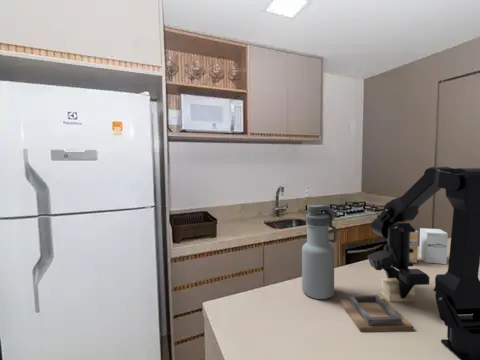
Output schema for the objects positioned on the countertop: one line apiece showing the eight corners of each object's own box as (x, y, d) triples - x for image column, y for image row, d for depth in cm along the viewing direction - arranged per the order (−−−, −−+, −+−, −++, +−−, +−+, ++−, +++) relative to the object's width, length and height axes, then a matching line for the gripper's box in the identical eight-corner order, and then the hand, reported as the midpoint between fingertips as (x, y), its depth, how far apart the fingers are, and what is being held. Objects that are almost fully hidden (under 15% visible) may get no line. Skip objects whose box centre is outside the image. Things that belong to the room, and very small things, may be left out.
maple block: (405, 293, 81) (405, 277, 81) (415, 300, 77) (415, 284, 76) (381, 293, 81) (381, 278, 81) (389, 301, 77) (389, 285, 76)
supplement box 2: (425, 263, 104) (426, 232, 103) (418, 256, 111) (419, 227, 111) (447, 264, 102) (448, 233, 101) (439, 258, 109) (439, 228, 108)
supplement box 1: (401, 265, 102) (402, 232, 102) (391, 261, 107) (392, 229, 106) (418, 263, 105) (418, 231, 104) (407, 258, 109) (408, 228, 108)
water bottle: (321, 282, 90) (320, 202, 88) (342, 295, 81) (342, 206, 79) (296, 288, 86) (295, 204, 84) (315, 303, 77) (315, 209, 75)
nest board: (413, 330, 64) (413, 320, 63) (360, 331, 64) (360, 321, 64) (384, 302, 77) (384, 293, 76) (339, 302, 77) (339, 294, 76)
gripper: (357, 235, 87) (357, 280, 88) (389, 255, 69) (388, 312, 70) (391, 234, 87) (390, 279, 88) (431, 254, 69) (430, 311, 70)
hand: (397, 293), depth 79 cm, fingers closed on maple block, 4 cm apart
